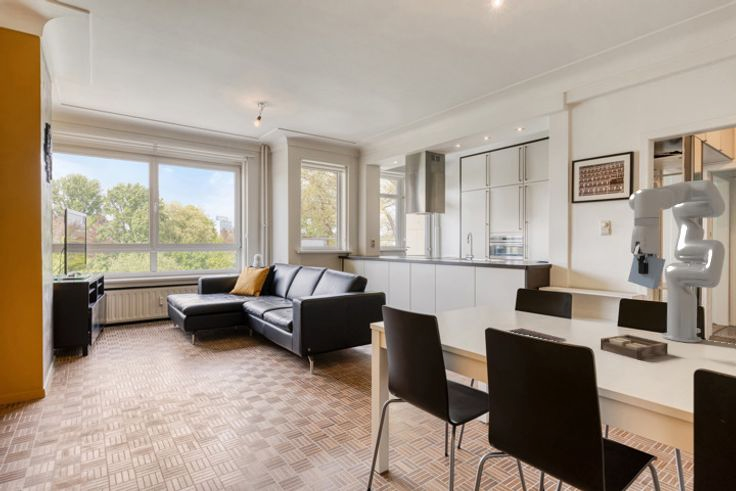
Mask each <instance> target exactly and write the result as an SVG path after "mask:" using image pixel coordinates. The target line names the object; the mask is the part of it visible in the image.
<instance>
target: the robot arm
mask: <svg viewBox="0 0 736 491" xmlns="http://www.w3.org/2000/svg"><path fill="white" fill-rule="evenodd" d="M628 198H629V199H628V204H629V207H630V209H631V210H632V211H634V213H633V215H634V218H633V220H634V223H633V224H634V226H633V229H632V232H631V239H630V240H631V242H630V253H631V254H633V258H634V257H636V258H637V262H638V273H639V274H648V263H647V255H650V256H654V257H658V256H660V251H661V232H660V223H661V222H660V220H661V219H660V217H661V216H660V213H661V212H660V211H665V210H669V209H671V212H672V215H673V219H674V221H675V222H676V223H675V224H676V226H677V230H678V234H677V237H676V243H675V247H674V254H673V255H674V258H675V259H676V260H677V261H680V262H672V263H669V264H668V265H666V266H665V269H664V277H665V281H666V282H665V283H666V290H667V293H666V294H667V296H666V297H667V299H666V300H667V301H666V302H667V303H666V306H667V310H666V311H667V312H666V313H667V314H666V332H663V333H662V338H664V339H666V340H670V341H675V342H681V343H692V344H693V343H696V344H697V343H701V342H702V338H701V337H700V336H698V335H697V334H699V333H701V331H702V330H701V329H700V328H699V327H698V328H697V325H698V324H697V321H698V320H697V319H698V318H697V317H698V314H697V313H698V310H697V309H698V298H697V295H696V293H695V292H694V291H693V290H692V288H694V287H695V288H706V289H712V288H716V287H718V285H720V282H721V279H722V272H723V267H724V261H725V256H726V255H725V254H726V249H725V246H724V244H723V242H721V241H720V240H717V239H704V237H705V229H704V228H703V226H702V225H700V223H698V222H697V221H696V220H695V219H708V218H709V219H710V218H711V219H712V218H719V217H721V216H722V215H724V213H725V211H726V203H725V201H724V199H723V196H722V194H721V193H720V190H719V189H718V187H717V185H716V184H715V183H714V182H713V181H711V180H710V179H701V180H698V179H697V180H690V181H681V182H680V181H679V182H677V183H673V184H667V185H662V186H658V187H657V186H656V187H653V188H643V189H638V190H636V191H634V192H633V193H632V194H630V197H628ZM643 256H644V258H643ZM691 287H692V288H691Z"/></svg>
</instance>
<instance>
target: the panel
mask: <svg viewBox="0 0 736 491" xmlns="http://www.w3.org/2000/svg"><path fill="white" fill-rule="evenodd" d="M643 258H644V256H643ZM647 263H648V274H639V273H638V262H637V258H636V257H634V256H633V259H632V263H631V267H630V272H629V276H628V279H627V282H629V283H632V284H636V285H638V286H641V287H645V288H646V289H647V288H648V289H649V290H650V289H651V290H658V289H659V285H660V282H661V278H662V274H663V271H664V267H665V263H666V259H665V258H661V257H658V256H657V257H654V256H650V255H647Z"/></svg>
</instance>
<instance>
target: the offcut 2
mask: <svg viewBox="0 0 736 491" xmlns="http://www.w3.org/2000/svg"><path fill="white" fill-rule="evenodd" d="M643 346H646V345H642V344H638V343H631V344H626V347H628V348H632V349H636V350H637V348H638V347H643Z"/></svg>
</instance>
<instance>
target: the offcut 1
mask: <svg viewBox="0 0 736 491" xmlns="http://www.w3.org/2000/svg"><path fill="white" fill-rule="evenodd" d="M609 343H612V344H616V345H620V346H624V347H626V344H631V340H627V339H622V338H613V339H609Z"/></svg>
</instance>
